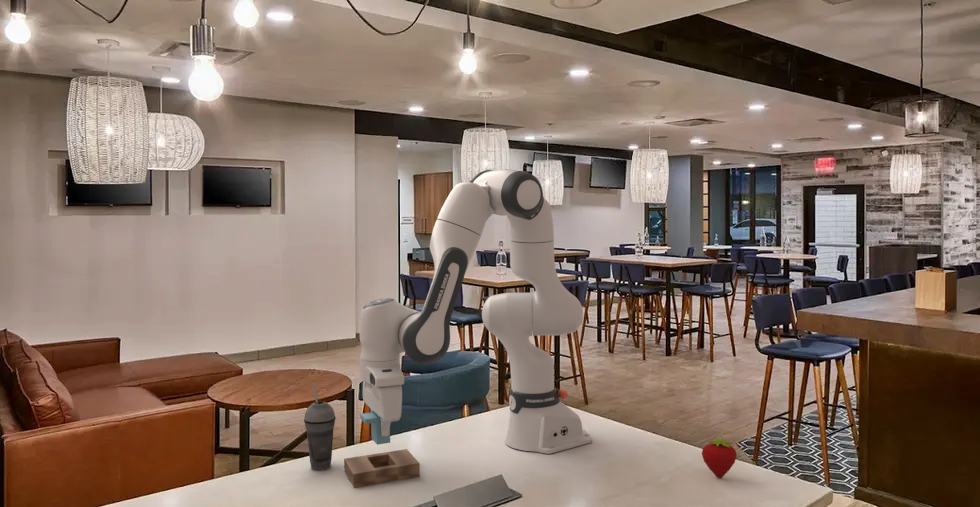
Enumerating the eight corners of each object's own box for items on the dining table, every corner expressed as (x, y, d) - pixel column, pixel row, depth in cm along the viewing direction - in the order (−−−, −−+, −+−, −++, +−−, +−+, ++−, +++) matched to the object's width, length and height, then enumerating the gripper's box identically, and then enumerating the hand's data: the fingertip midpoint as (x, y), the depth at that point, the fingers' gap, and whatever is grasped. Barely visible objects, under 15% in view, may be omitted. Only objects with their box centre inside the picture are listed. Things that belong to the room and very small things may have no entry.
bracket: (384, 436, 153) (383, 410, 153) (390, 442, 148) (389, 416, 148) (360, 440, 151) (360, 413, 151) (366, 446, 146) (365, 419, 146)
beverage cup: (328, 474, 151) (326, 388, 150) (299, 471, 153) (297, 386, 152) (341, 462, 158) (340, 380, 157) (313, 460, 160) (311, 378, 159)
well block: (406, 461, 159) (406, 449, 159) (419, 476, 150) (419, 463, 150) (344, 471, 153) (344, 458, 153) (353, 487, 144) (353, 474, 144)
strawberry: (697, 472, 150) (698, 429, 150) (730, 472, 151) (730, 429, 150) (706, 483, 144) (707, 438, 144) (740, 482, 145) (741, 437, 144)
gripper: (355, 363, 158) (356, 420, 158) (377, 381, 139) (378, 446, 140) (381, 361, 160) (382, 417, 161) (406, 378, 142) (407, 442, 142)
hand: (380, 431), depth 150 cm, fingers closed on bracket, 5 cm apart
